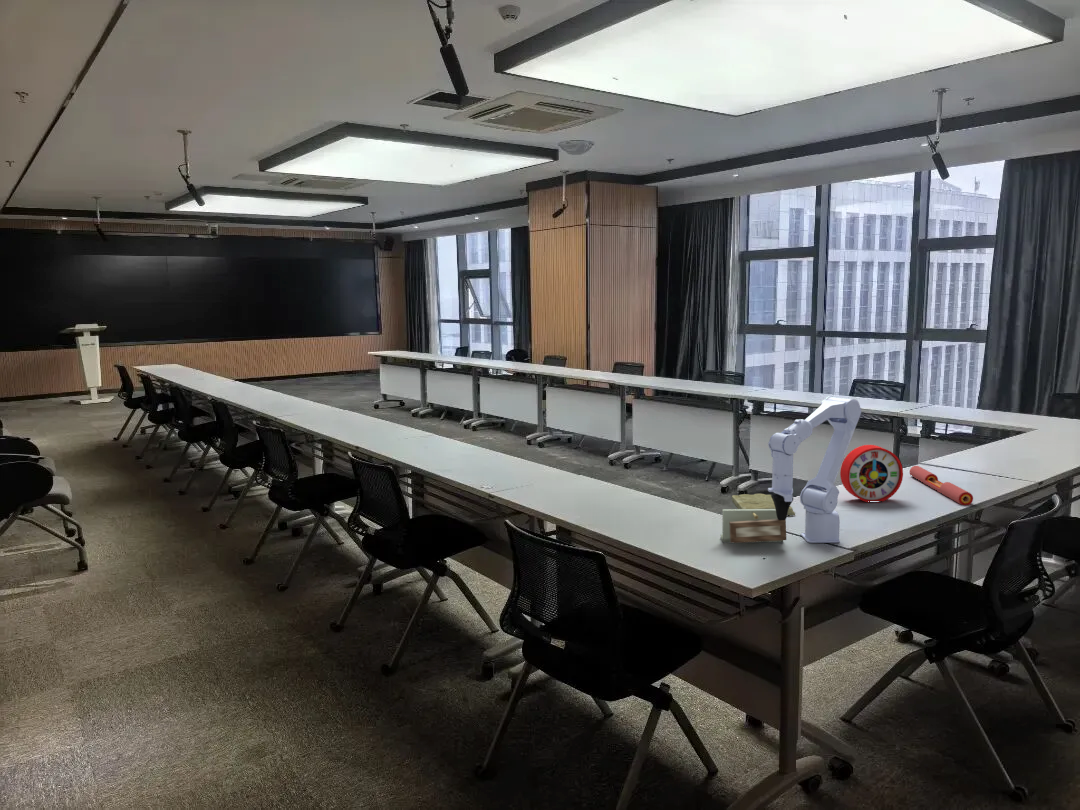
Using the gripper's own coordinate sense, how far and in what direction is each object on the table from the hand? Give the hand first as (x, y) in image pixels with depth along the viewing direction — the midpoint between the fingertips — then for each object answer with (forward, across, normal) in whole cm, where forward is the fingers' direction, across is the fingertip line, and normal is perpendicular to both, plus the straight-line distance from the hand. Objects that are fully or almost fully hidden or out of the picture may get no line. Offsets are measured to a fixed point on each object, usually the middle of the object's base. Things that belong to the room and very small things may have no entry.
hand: (781, 519), depth 216 cm
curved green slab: (+9, -6, -7) cm, 12 cm away
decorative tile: (+9, -42, +5) cm, 43 cm away
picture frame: (+6, 0, -7) cm, 9 cm away
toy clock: (+9, -51, +45) cm, 69 cm away
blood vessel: (+9, -66, +75) cm, 100 cm away
